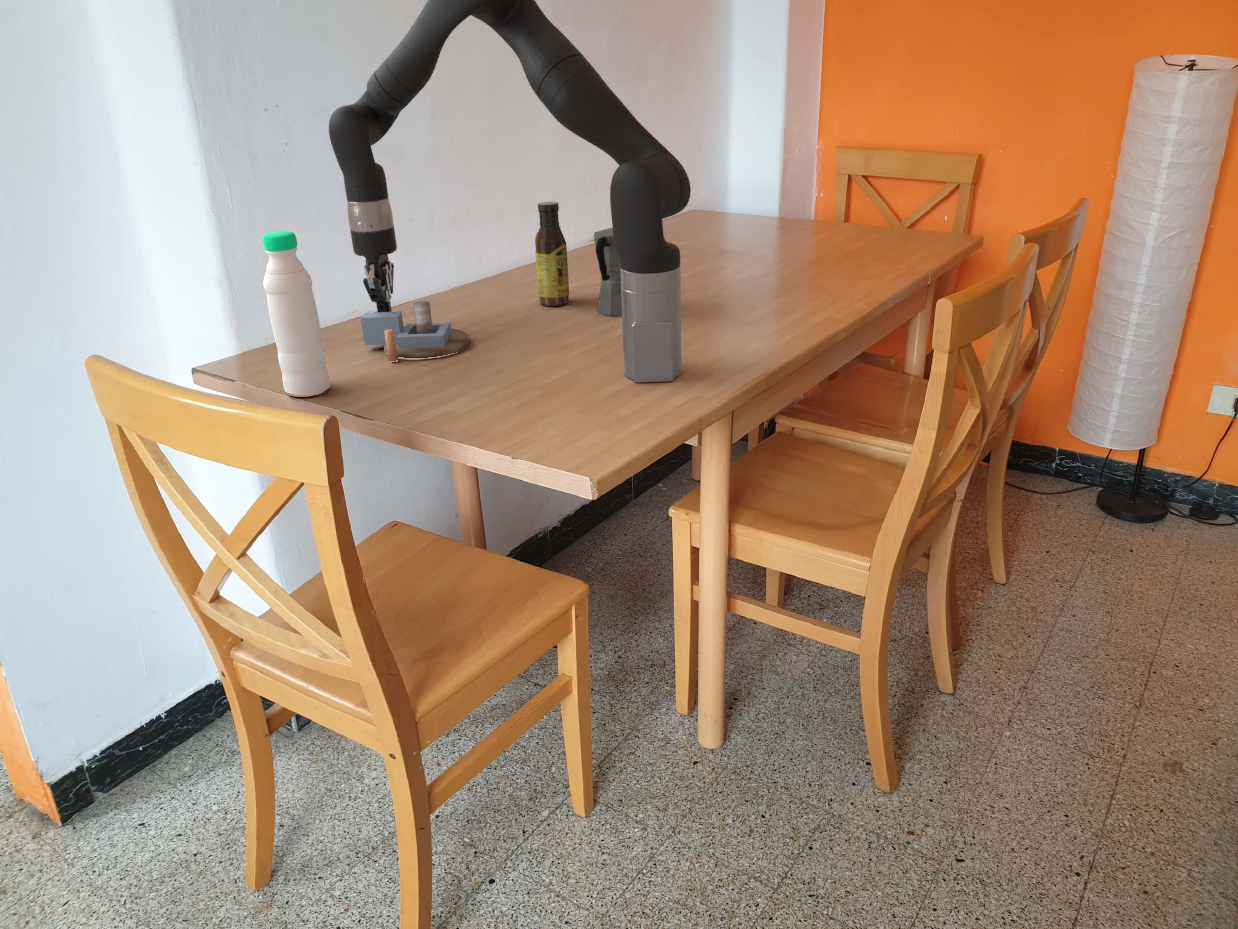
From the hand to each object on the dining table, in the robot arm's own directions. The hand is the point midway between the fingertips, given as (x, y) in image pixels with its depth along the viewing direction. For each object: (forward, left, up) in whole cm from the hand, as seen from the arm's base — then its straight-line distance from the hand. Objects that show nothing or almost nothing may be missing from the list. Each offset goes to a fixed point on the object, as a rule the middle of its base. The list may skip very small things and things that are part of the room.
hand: (386, 321), depth 175 cm
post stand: (-5, -8, -3) cm, 10 cm away
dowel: (-13, -4, -3) cm, 14 cm away
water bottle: (-26, +7, -4) cm, 27 cm away
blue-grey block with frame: (-5, -5, -2) cm, 8 cm away
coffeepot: (+13, -42, -4) cm, 44 cm away
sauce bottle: (+21, -29, -4) cm, 36 cm away
